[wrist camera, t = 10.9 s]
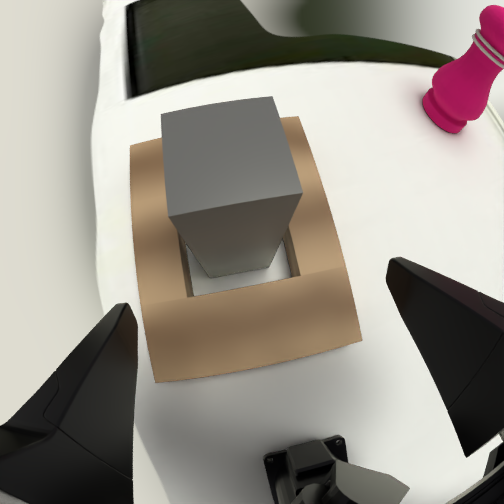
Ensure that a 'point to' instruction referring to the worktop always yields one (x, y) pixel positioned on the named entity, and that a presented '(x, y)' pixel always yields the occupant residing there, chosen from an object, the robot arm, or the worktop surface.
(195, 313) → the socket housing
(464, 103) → the pepper mill
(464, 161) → the worktop surface
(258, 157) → the plug block
